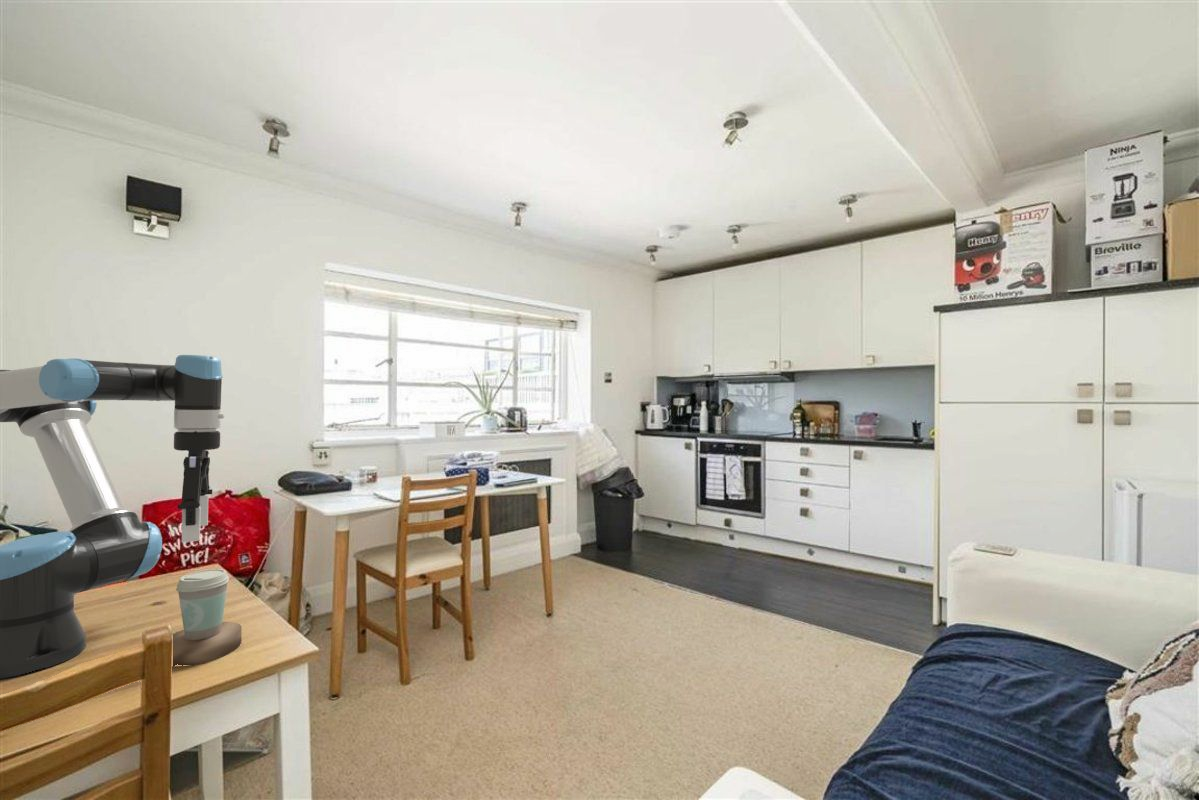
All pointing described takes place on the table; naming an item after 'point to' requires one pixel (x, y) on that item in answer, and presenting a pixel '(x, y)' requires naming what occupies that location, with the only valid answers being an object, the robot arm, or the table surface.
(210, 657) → the walnut stand
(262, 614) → the table surface
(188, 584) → the coffee cup
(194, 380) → the robot arm
